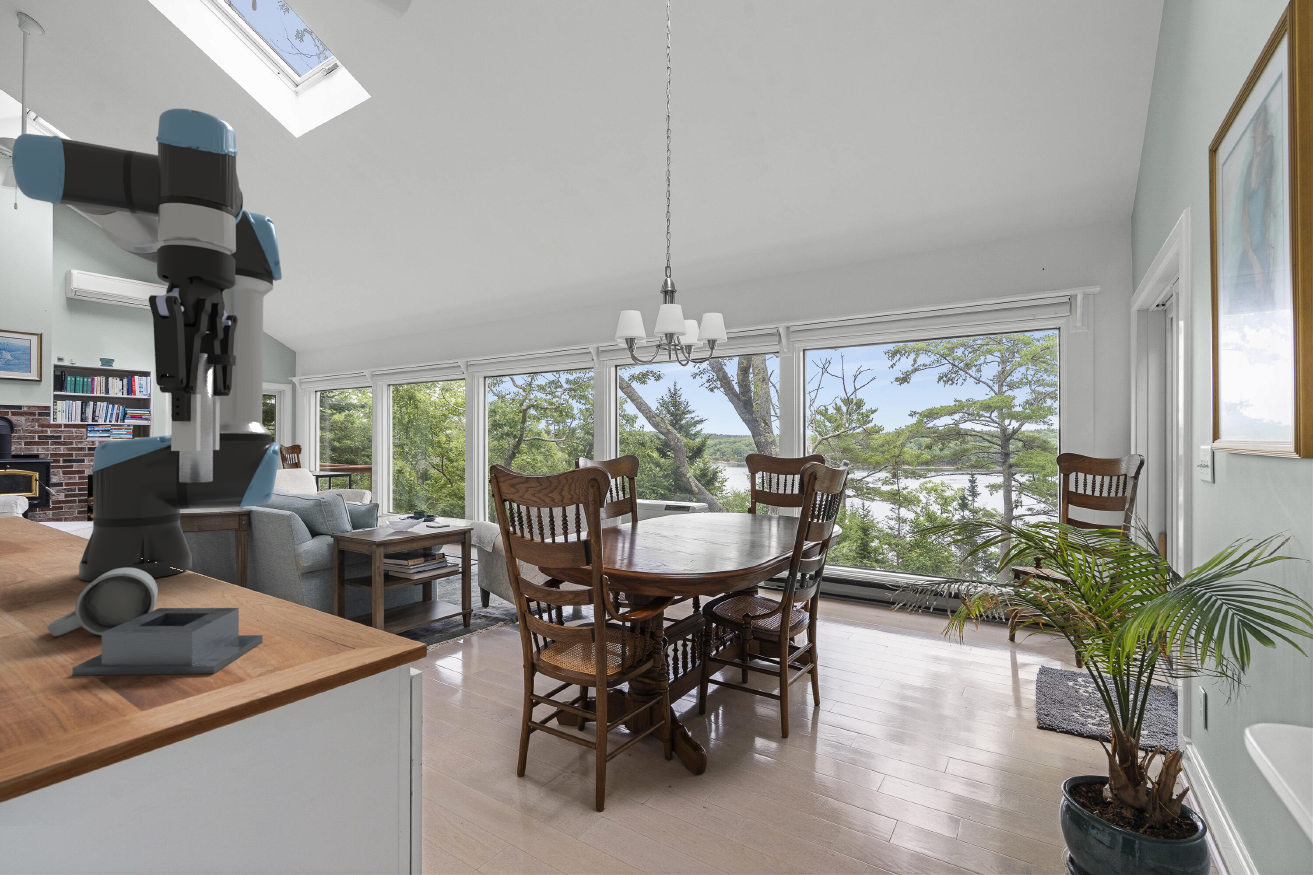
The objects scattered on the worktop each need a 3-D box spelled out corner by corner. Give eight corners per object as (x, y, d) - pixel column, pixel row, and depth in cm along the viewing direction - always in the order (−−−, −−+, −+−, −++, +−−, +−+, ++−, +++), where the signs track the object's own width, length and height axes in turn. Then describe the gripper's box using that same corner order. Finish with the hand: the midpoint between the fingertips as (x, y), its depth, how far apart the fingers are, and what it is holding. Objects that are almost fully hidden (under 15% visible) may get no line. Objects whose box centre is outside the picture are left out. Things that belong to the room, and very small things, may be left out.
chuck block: (139, 642, 78) (139, 606, 78) (262, 641, 79) (262, 606, 79) (72, 675, 68) (72, 634, 68) (214, 673, 69) (214, 633, 69)
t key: (150, 482, 75) (151, 351, 75) (168, 480, 78) (169, 354, 78) (224, 482, 76) (225, 353, 76) (239, 480, 79) (240, 356, 79)
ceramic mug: (159, 614, 89) (158, 558, 89) (155, 630, 82) (154, 570, 82) (55, 628, 83) (53, 568, 83) (41, 647, 76) (39, 582, 76)
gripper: (204, 266, 84) (203, 447, 85) (112, 228, 68) (111, 452, 68) (265, 268, 85) (264, 448, 85) (188, 231, 69) (187, 453, 69)
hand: (196, 449), depth 77 cm, fingers closed on t key, 3 cm apart
